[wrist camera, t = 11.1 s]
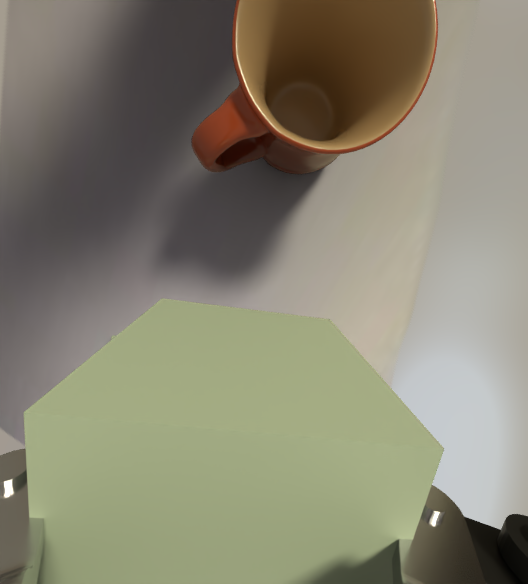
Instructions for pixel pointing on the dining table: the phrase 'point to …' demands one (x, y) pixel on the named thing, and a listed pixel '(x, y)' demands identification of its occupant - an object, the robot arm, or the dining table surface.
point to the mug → (318, 80)
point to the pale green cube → (225, 456)
